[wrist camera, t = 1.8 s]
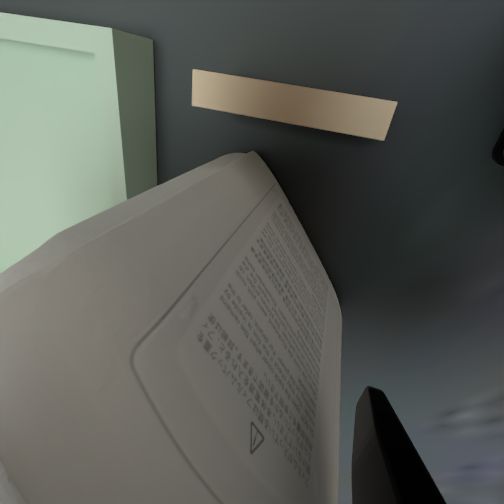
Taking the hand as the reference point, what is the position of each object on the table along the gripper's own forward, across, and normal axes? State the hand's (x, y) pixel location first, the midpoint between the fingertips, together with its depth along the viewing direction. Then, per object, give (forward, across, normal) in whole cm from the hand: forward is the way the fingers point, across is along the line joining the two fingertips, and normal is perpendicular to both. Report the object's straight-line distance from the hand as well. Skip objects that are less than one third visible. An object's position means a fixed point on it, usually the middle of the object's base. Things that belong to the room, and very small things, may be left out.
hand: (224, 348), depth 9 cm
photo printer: (+7, 0, 0) cm, 7 cm away
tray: (+7, +14, 0) cm, 16 cm away
